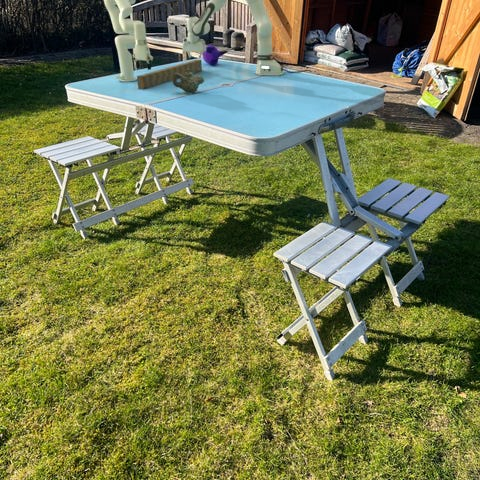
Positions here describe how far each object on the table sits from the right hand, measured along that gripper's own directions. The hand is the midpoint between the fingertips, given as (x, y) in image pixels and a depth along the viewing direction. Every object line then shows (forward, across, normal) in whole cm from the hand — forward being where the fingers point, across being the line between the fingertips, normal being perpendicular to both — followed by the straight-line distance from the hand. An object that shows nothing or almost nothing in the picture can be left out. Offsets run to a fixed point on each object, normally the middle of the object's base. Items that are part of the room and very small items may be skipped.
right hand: (195, 57), depth 364 cm
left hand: (-2, +1, +65) cm, 65 cm away
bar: (+11, 0, +33) cm, 34 cm away
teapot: (+11, -38, +68) cm, 78 cm away
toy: (+11, +3, -34) cm, 36 cm away
